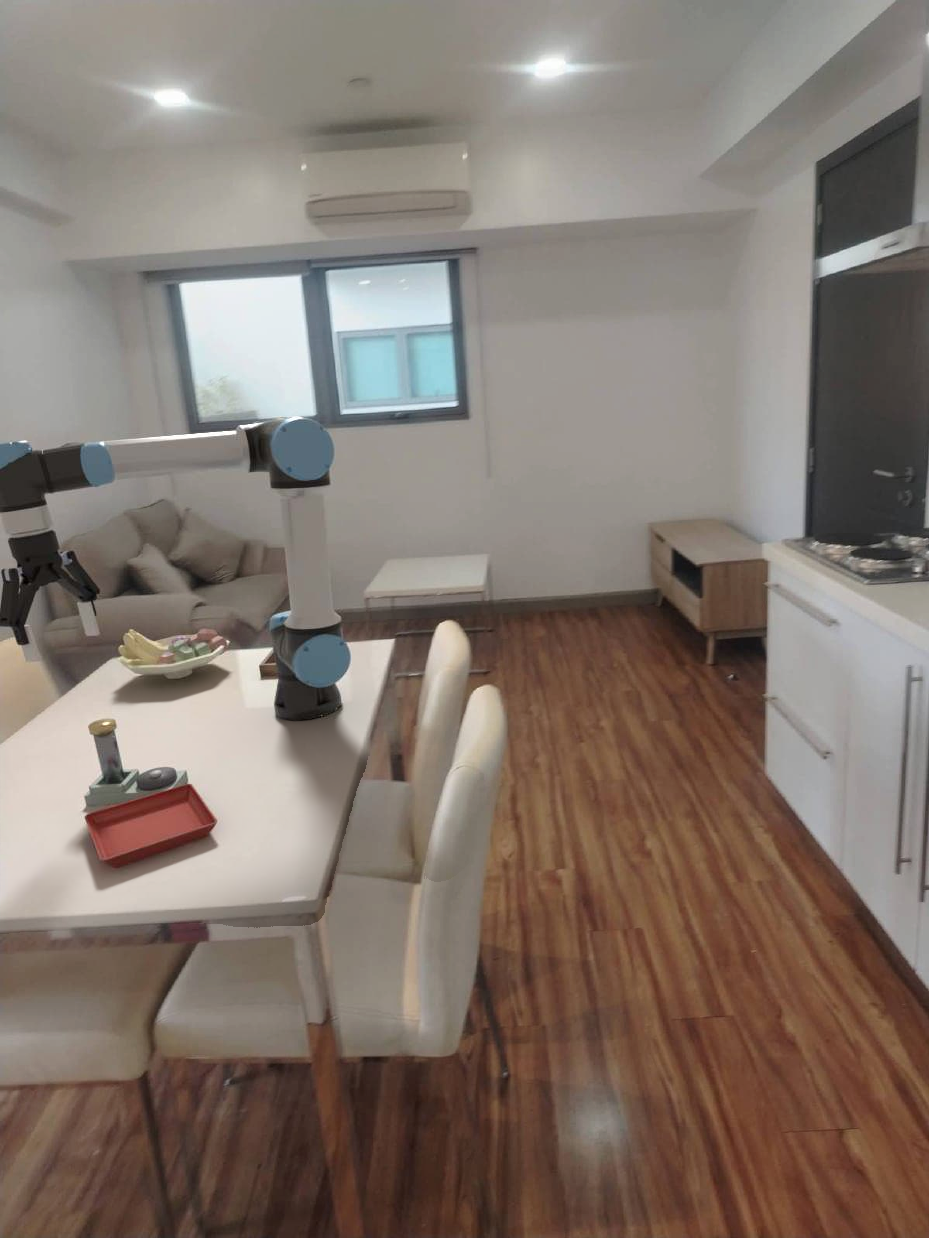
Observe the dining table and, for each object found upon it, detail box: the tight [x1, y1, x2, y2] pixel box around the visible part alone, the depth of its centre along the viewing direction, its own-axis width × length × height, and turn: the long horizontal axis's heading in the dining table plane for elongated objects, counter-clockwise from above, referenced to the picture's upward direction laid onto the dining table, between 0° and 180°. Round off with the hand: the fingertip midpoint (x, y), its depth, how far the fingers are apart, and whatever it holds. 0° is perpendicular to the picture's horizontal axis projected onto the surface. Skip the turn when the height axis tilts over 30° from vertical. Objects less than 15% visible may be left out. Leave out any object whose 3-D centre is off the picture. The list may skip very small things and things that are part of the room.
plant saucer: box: [84, 783, 218, 868], centre depth 133 cm, size 18×18×3 cm
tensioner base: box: [83, 766, 189, 807], centre depth 147 cm, size 16×8×4 cm, turn 88°
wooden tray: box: [258, 648, 277, 677], centre depth 214 cm, size 16×18×3 cm
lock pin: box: [87, 718, 125, 785], centre depth 146 cm, size 5×5×12 cm
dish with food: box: [116, 628, 230, 680], centre depth 211 cm, size 28×28×14 cm
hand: (64, 647), depth 144 cm, fingers open, 13 cm apart
